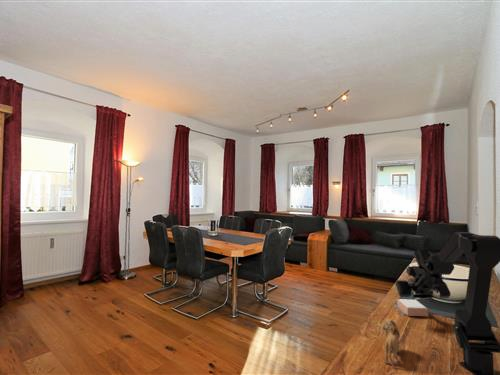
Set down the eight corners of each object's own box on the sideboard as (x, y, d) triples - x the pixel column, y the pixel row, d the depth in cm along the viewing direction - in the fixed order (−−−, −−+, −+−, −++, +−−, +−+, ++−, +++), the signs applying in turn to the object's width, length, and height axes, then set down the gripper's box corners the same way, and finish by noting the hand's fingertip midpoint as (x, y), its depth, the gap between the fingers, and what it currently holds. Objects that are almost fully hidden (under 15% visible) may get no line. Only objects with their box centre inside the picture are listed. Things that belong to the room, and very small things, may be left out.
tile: (427, 308, 115) (415, 299, 125) (407, 307, 116) (397, 298, 126) (427, 316, 115) (416, 306, 125) (407, 315, 116) (397, 306, 126)
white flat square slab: (428, 315, 116) (428, 314, 116) (403, 314, 117) (403, 313, 117) (416, 306, 126) (416, 305, 126) (393, 305, 127) (393, 304, 127)
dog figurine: (380, 342, 95) (380, 316, 96) (398, 345, 93) (397, 318, 94) (384, 367, 82) (384, 336, 82) (405, 371, 80) (404, 339, 80)
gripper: (445, 261, 111) (431, 281, 122) (396, 260, 113) (386, 280, 124) (458, 288, 103) (442, 306, 114) (406, 286, 105) (394, 304, 116)
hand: (415, 298), depth 117 cm, fingers closed
